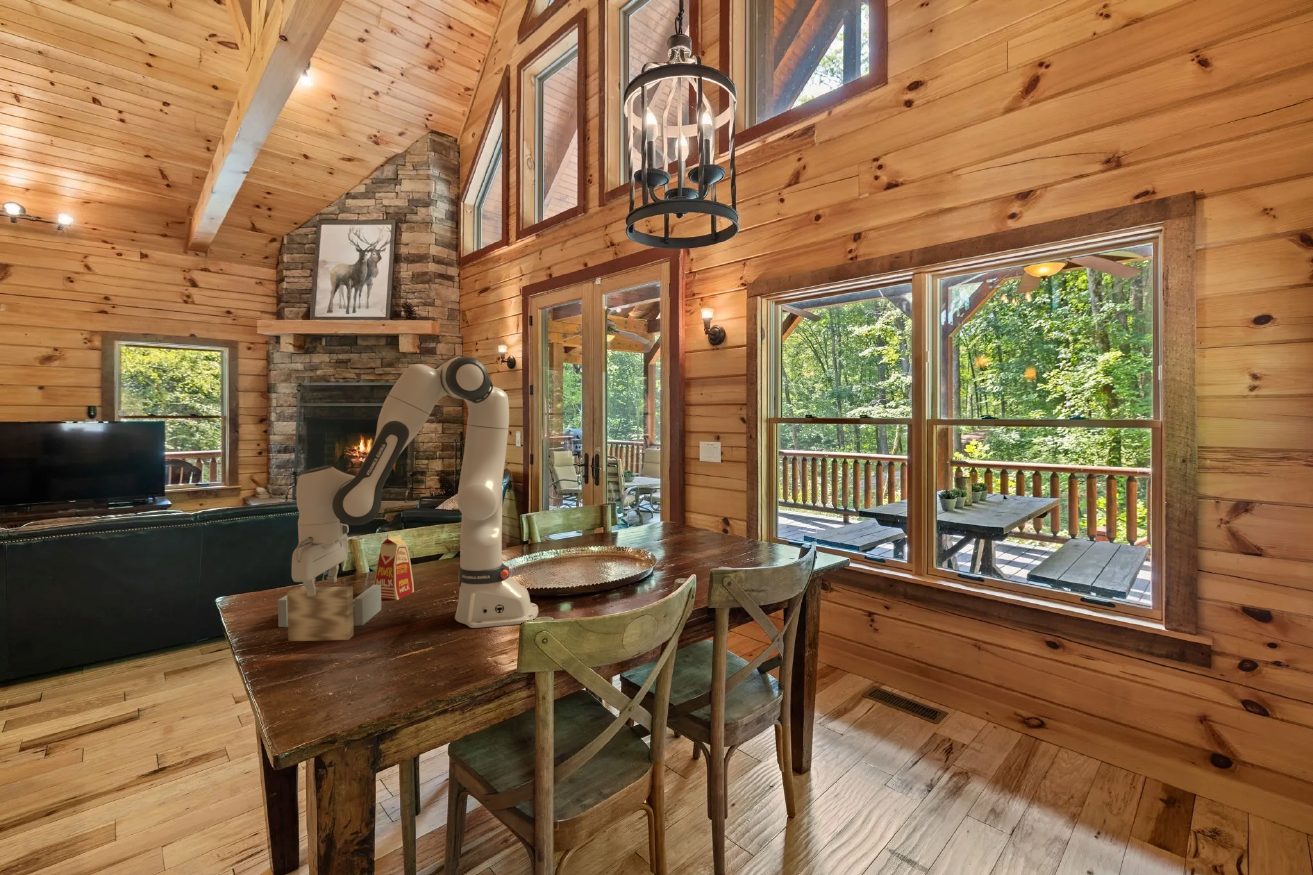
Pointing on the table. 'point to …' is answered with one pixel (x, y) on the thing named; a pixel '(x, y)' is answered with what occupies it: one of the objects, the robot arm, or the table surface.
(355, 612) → the rack
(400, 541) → the milk carton
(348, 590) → the panel
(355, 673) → the table surface
